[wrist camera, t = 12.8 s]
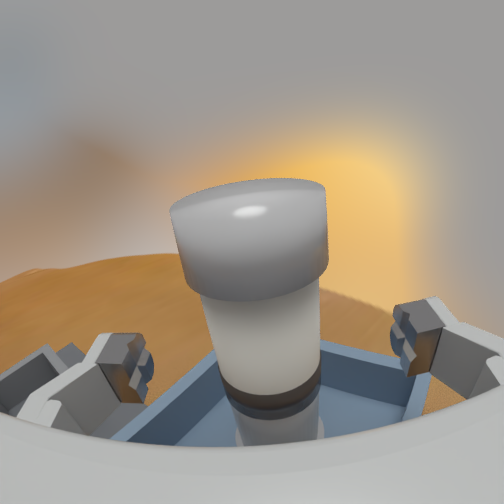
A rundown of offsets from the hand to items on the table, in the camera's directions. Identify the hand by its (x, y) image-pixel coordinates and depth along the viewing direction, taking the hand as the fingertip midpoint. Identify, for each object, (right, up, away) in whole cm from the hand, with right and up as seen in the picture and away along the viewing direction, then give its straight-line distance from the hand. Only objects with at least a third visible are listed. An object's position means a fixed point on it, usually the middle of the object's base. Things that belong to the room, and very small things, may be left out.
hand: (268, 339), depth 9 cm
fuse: (+1, -8, +4) cm, 9 cm away
